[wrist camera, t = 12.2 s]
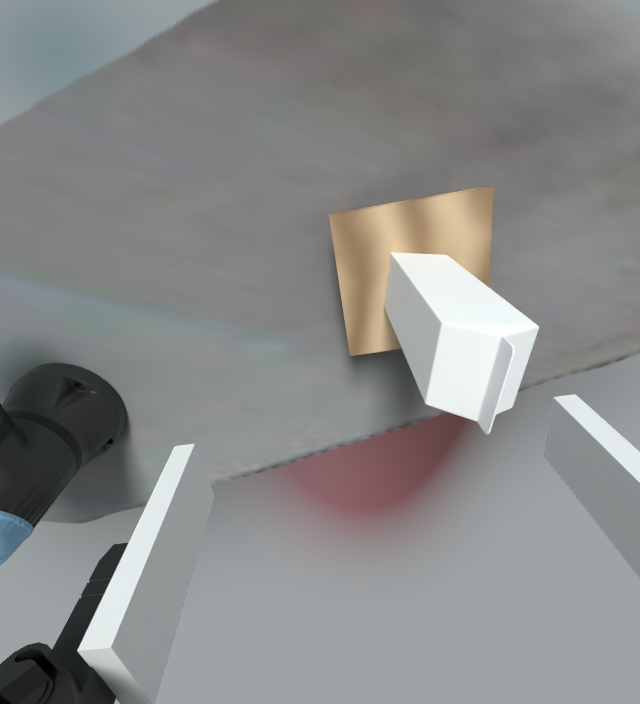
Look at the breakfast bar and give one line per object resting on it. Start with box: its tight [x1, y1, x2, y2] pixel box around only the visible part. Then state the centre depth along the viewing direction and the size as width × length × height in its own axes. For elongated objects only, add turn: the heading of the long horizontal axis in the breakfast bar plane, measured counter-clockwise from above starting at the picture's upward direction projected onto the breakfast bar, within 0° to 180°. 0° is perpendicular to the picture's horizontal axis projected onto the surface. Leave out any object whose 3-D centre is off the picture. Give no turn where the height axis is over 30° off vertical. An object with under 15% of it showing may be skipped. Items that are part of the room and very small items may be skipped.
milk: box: [384, 252, 539, 434], centre depth 31 cm, size 6×6×22 cm
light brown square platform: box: [329, 186, 493, 356], centre depth 43 cm, size 16×16×6 cm
